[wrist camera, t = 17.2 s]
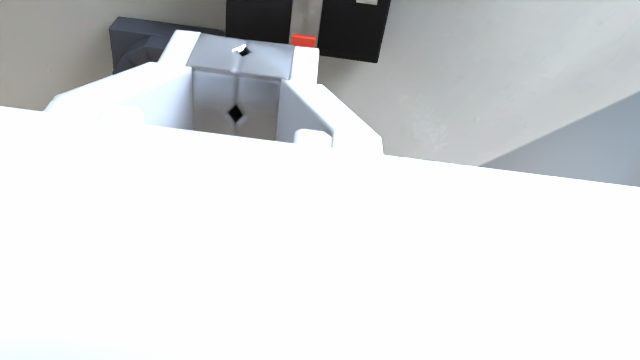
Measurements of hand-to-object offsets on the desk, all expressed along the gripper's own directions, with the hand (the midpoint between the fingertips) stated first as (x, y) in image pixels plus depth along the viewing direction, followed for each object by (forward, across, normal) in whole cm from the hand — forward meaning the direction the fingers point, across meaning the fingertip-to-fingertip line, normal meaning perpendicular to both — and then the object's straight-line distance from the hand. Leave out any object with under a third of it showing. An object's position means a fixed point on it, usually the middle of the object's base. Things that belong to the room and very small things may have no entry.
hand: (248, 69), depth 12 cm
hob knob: (+26, -1, +8) cm, 27 cm away
